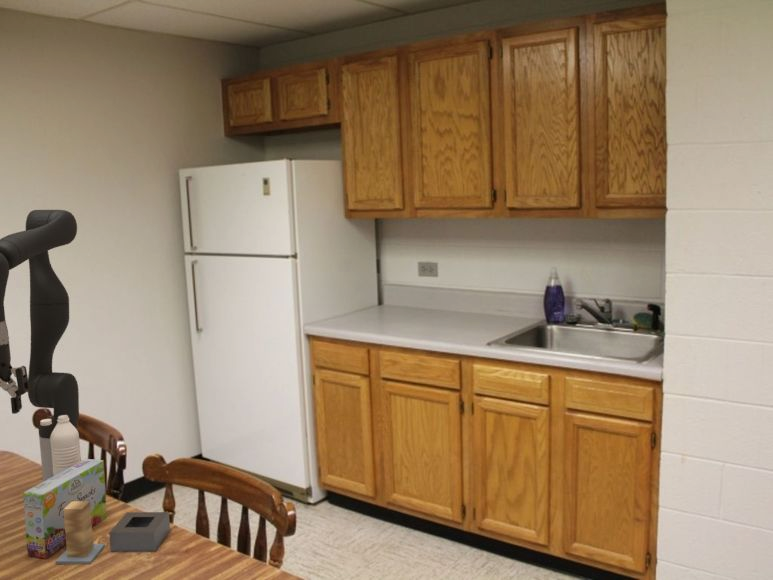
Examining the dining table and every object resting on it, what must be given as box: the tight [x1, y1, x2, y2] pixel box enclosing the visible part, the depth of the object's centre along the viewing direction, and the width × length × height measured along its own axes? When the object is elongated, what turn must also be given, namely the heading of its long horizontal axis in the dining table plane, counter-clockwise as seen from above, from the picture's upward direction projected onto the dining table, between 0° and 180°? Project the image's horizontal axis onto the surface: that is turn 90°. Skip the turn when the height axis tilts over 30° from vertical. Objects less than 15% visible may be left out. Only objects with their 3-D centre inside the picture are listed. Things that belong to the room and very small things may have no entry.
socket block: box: [109, 511, 171, 553], centre depth 163 cm, size 10×10×4 cm
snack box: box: [23, 458, 108, 559], centre depth 165 cm, size 21×6×15 cm, turn 166°
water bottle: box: [39, 415, 82, 476], centre depth 176 cm, size 9×6×25 cm
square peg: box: [63, 501, 94, 557], centre depth 156 cm, size 4×4×11 cm
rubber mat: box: [55, 543, 106, 565], centre depth 157 cm, size 8×8×1 cm
